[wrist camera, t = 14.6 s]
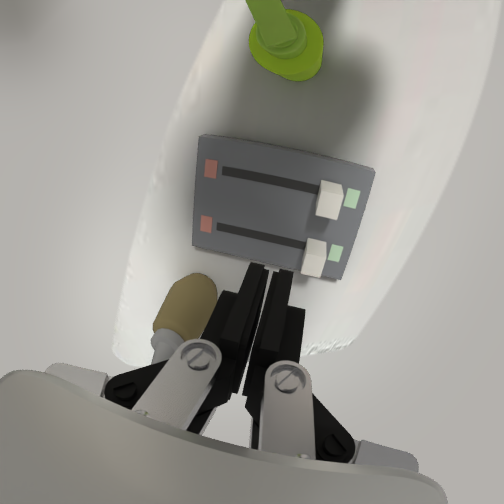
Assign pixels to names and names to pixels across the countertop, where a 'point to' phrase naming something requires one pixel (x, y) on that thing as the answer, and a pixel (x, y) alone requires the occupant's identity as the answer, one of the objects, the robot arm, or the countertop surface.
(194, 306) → the squeeze bottle
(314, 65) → the soap dispenser
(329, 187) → the block
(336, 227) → the slider switch panel
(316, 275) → the block
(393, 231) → the countertop surface
